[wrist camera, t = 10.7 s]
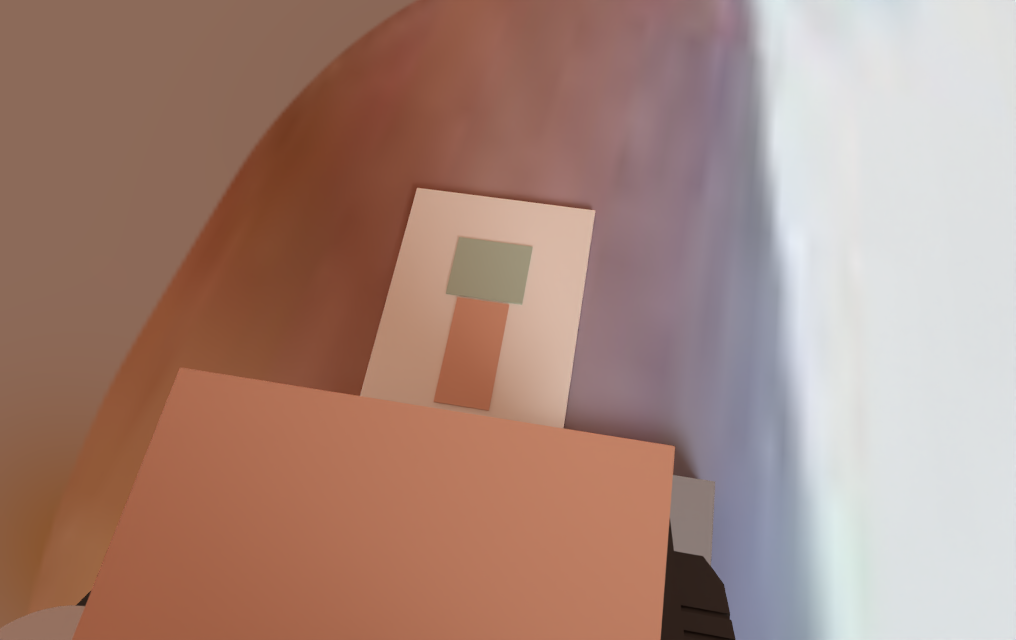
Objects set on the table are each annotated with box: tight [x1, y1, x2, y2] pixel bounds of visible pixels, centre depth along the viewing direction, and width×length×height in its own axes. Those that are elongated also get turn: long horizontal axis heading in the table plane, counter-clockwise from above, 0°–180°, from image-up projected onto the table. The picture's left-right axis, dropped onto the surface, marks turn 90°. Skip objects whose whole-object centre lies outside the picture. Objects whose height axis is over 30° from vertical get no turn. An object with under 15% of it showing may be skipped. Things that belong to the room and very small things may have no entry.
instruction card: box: [360, 188, 595, 428], centre depth 26 cm, size 10×7×1 cm
